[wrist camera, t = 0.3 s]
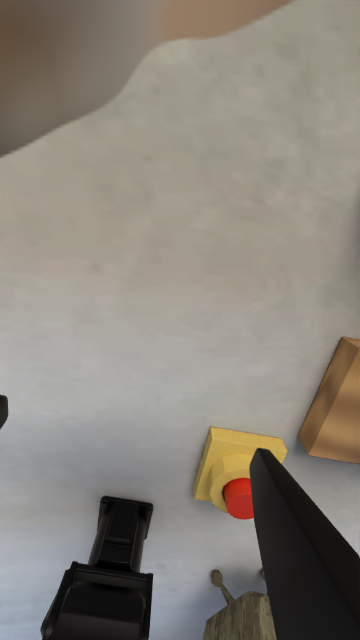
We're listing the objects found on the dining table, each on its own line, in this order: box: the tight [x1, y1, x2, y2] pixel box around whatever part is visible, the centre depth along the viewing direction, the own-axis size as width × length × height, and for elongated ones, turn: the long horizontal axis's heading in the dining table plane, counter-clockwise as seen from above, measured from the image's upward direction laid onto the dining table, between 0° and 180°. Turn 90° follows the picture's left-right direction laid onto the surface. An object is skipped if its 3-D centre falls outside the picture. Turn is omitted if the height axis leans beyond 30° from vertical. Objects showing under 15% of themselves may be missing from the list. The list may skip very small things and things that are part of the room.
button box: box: [194, 427, 287, 513], centre depth 26 cm, size 9×8×4 cm
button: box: [224, 478, 254, 519], centre depth 24 cm, size 4×4×2 cm
